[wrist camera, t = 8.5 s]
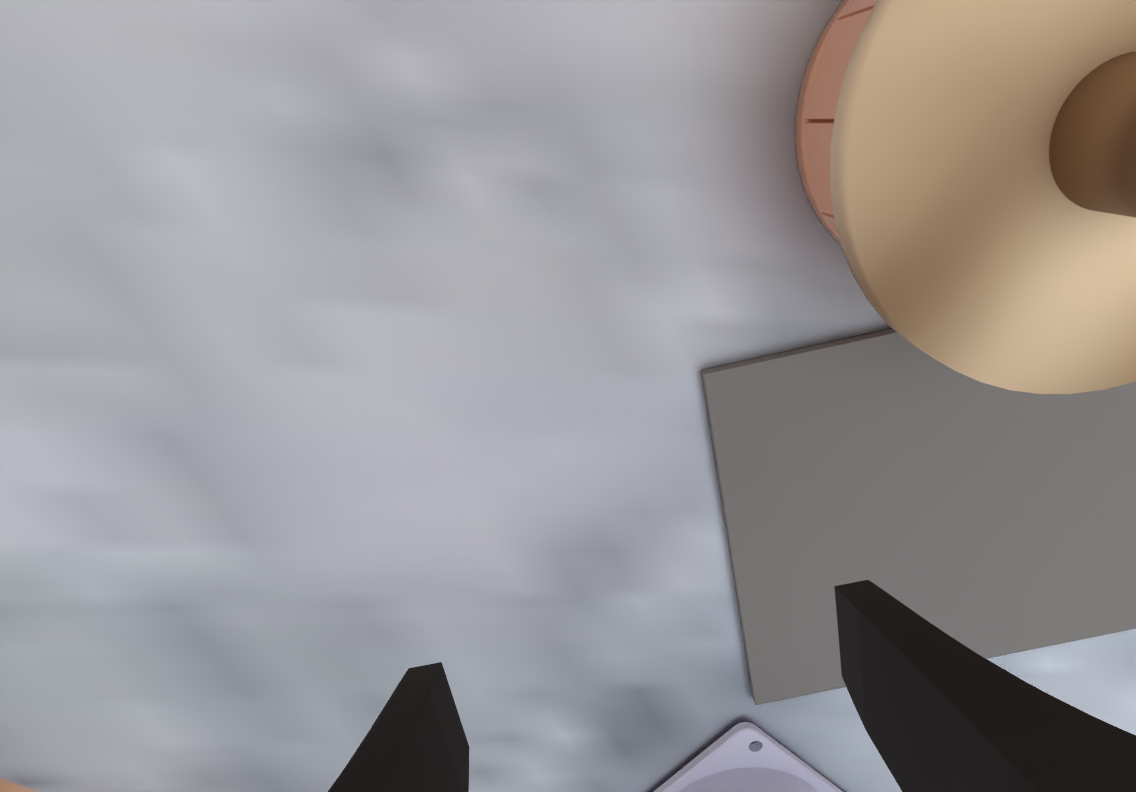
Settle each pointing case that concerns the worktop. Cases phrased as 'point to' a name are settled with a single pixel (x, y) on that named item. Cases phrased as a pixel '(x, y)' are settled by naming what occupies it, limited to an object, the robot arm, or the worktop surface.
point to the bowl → (825, 104)
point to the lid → (996, 185)
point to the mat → (917, 503)
